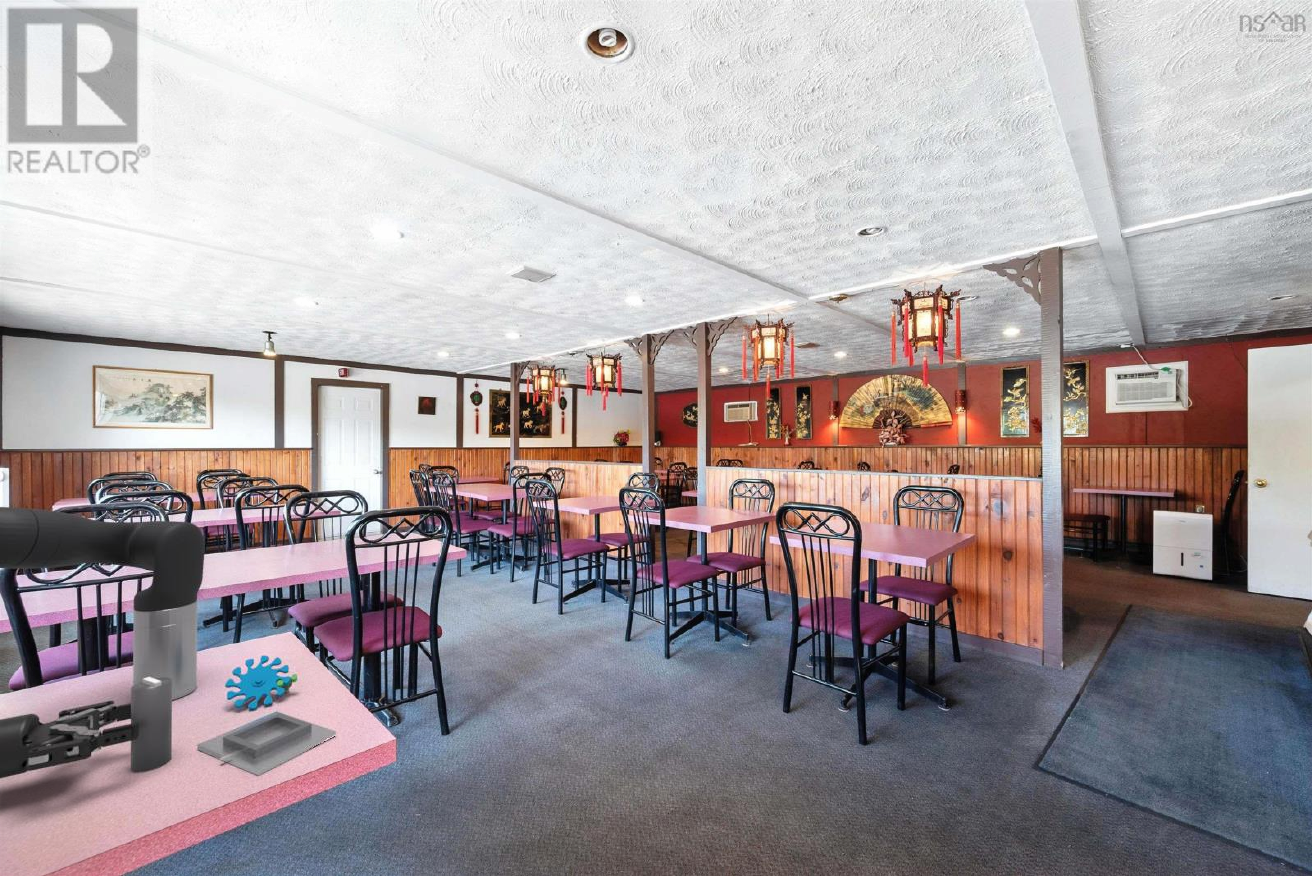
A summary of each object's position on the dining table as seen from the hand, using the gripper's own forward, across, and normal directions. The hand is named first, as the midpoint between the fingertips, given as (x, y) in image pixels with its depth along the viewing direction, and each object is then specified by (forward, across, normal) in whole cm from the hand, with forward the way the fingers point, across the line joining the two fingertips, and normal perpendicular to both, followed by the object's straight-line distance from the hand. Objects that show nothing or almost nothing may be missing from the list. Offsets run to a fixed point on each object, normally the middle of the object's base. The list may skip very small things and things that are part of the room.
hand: (144, 718), depth 84 cm
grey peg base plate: (+15, -3, +7) cm, 17 cm away
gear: (+14, +15, +7) cm, 22 cm away
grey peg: (+1, 0, +7) cm, 7 cm away
